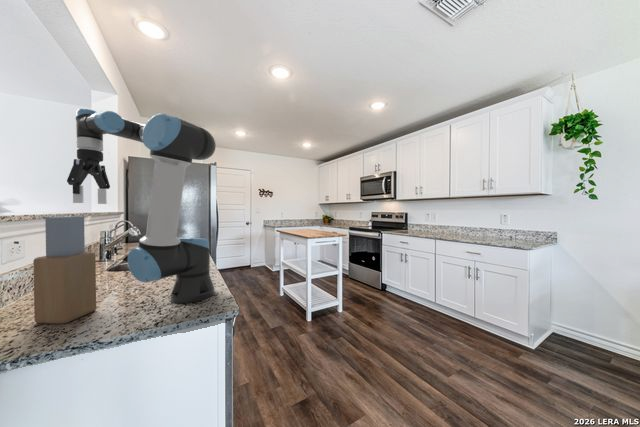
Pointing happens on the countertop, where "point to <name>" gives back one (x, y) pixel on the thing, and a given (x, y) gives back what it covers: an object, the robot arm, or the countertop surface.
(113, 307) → the countertop surface
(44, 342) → the countertop surface
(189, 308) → the countertop surface
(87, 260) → the wooden block
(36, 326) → the countertop surface
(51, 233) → the slate block
